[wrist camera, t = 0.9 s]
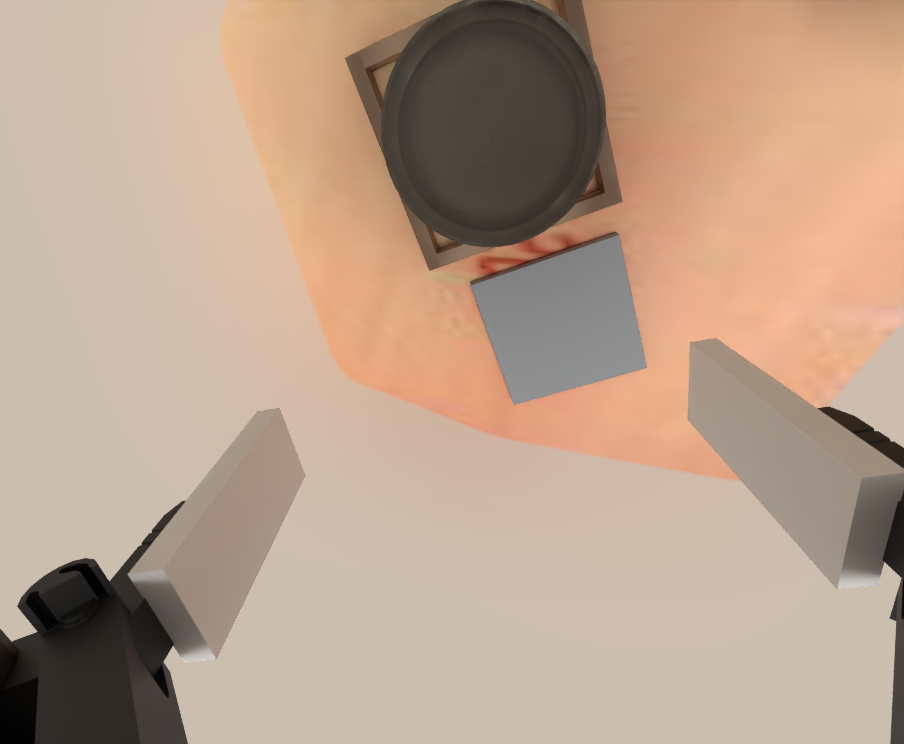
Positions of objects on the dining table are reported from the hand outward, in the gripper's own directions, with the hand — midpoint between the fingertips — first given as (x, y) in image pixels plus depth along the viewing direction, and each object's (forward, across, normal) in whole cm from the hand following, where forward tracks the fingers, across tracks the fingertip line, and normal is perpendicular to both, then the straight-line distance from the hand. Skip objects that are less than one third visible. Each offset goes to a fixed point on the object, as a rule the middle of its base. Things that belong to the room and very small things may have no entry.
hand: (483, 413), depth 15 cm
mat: (+25, +7, -7) cm, 27 cm away
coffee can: (+25, +3, +9) cm, 27 cm away
